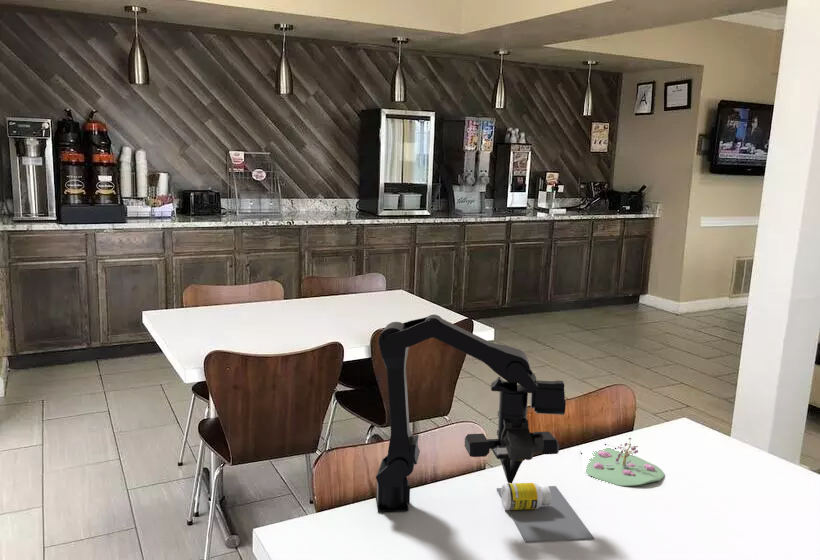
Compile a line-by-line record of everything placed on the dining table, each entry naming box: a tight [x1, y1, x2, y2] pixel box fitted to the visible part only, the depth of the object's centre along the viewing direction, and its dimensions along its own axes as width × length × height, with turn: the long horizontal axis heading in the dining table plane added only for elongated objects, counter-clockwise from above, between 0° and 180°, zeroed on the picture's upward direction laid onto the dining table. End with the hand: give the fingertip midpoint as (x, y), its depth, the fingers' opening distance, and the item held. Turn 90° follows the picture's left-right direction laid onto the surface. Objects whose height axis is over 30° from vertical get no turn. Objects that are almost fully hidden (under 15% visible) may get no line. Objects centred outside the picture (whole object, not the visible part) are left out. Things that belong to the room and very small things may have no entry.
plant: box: [585, 437, 665, 487], centre depth 165 cm, size 25×21×9 cm
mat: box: [496, 485, 595, 543], centre depth 141 cm, size 14×22×1 cm, turn 7°
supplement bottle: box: [500, 482, 551, 511], centre depth 141 cm, size 5×5×10 cm
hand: (509, 482), depth 138 cm, fingers closed
